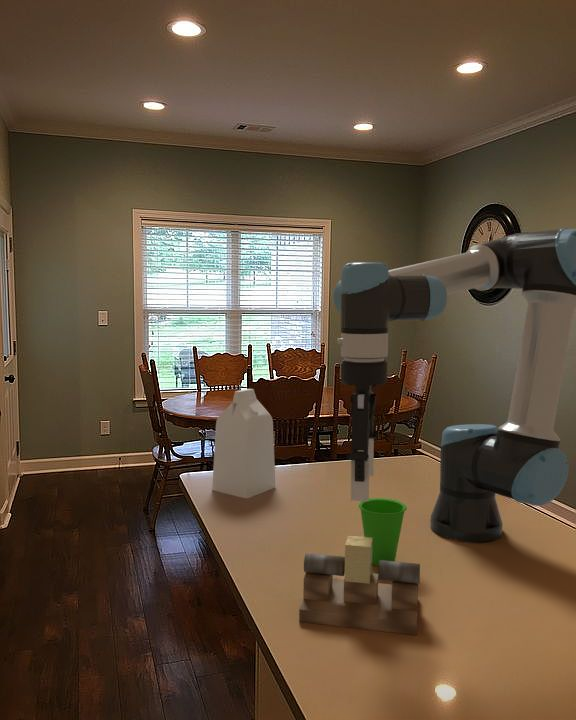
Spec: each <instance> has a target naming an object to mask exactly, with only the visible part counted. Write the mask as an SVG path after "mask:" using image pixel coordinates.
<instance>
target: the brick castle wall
mask: <svg viewBox="0 0 576 720" xmlns="http://www.w3.org/2000/svg"><path fill="white" fill-rule="evenodd" d="M377 570H378V573H373V572H372V574H371V580H370V584H367V583H357V582H348V581H345V556H341V555H340V556H339V555H330V554H329V555H327V554H320V553H319V554H318V553H308V552H306V553H305V555H304V558H303V572H304V573H305V574H304V576H303V599H302V601H301V605H300V606H299V609H298V613H299V615H298V617H299V618H298V622H302V623H310V624H317V625H325V626H326V625H328V626H334V627H344V628H350V629H351V628H352V629H361V630H369V631H376V632H377V631H378V632H384V633H385V632H386V633H394V634H403V635H409V636H410V635H413V636H417V634H418V633H417V632H418V604H419V603H418V601H419V600H418V599H419V584H421V583H420V578H421V577H420V576H421V564H420V563H415V562H414V563H413V562H404V561H402V562H401V561H384V560H379V566H378V569H377ZM334 576H339V577H344V578H343V579H341V578H334ZM379 581H388V582H392V583H390V584H389V583H383V582H382V583H381V582H380V583H379Z"/></svg>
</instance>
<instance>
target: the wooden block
mask: <svg viewBox="0 0 576 720" xmlns="http://www.w3.org/2000/svg"><path fill="white" fill-rule="evenodd" d="M372 543H373V538H370V537H364V536H358V535H357V536H356V535H347V539H346V541H345V544H344V557H345V573H344V578H345V581H348V582H357V583H367V584H370V580H371V574H372V573H373V564H372Z"/></svg>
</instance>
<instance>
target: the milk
mask: <svg viewBox="0 0 576 720" xmlns="http://www.w3.org/2000/svg"><path fill="white" fill-rule="evenodd" d="M255 392H256V391H255V389H254V388H246V389H240V390H235V391H234V394H233V398H232V402H231V403H230V405H228V406H227V407H226V408H225V409H224V411H222V413H220V415H218V417H217V418H216V422H215V432H214V433H215V437H214V450H213V452H214V453H213V454H214V455H213V470H212V485H211V486H212V487H211V488H212V489H211V490H212V491H215V492H219V493H221V494H226V495H230V496H234V497H238V498H241V499H250V498H252V497H254V496H257V495H260V494H261V493H262V494H263V493H264V492H267V491H269V490H272V489H275V488H276V467H275V463H276V462H275V443H274V441H275V438H274V437H275V436H274V421H273V420H274V419H273V417H272V415H271V414H270V413H269V411H268V410H267V408H265V406H264V405H263V404H262V403H261V402H260V401H259V399H257V396H256V393H255Z"/></svg>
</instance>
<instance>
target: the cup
mask: <svg viewBox="0 0 576 720" xmlns="http://www.w3.org/2000/svg"><path fill="white" fill-rule="evenodd" d="M358 508H359V510H360V513H361V520H362V521H361V523H362V529H363V535H364V536H363V537H370V538H373V543H372V566H376V567H379V560H384V561H394V562H396V557H397V551H398V545H399V540H400V536H401V531H402V526H403V520H404V515H405V512H406V511H407V505H406V504H405V503H403V502H401V501H399V500H396V499H392V498H385V497H384V498H383V497H382V498H381V497H374V498H373V497H371V498H369V501H359V503H358Z"/></svg>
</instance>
